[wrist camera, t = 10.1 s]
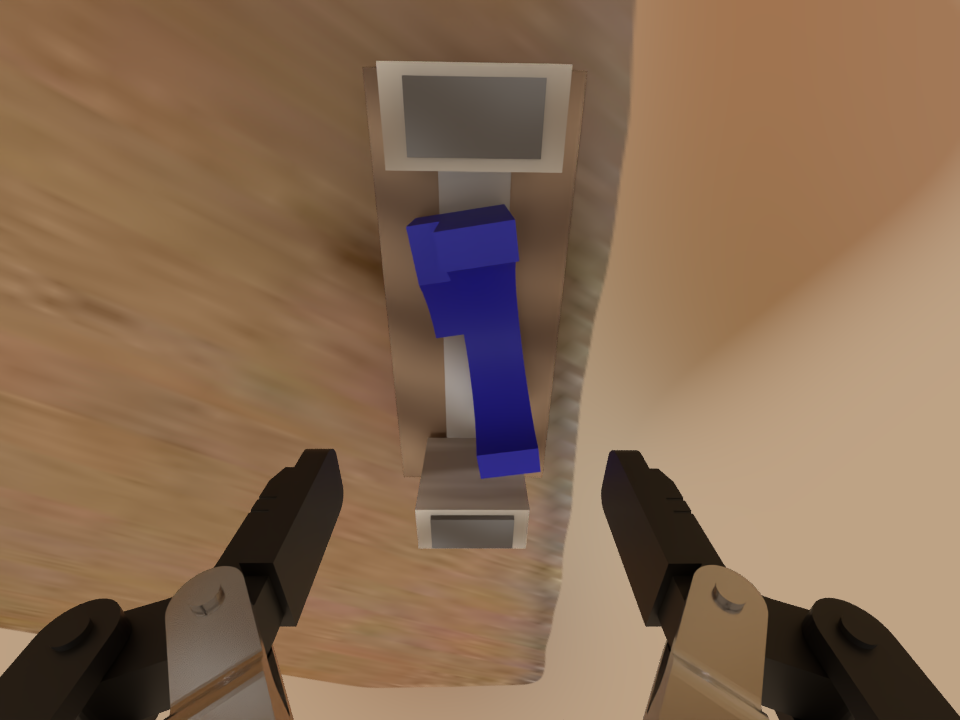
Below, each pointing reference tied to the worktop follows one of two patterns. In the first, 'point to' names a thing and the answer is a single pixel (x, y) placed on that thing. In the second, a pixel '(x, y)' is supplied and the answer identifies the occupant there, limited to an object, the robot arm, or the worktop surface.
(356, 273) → the worktop surface
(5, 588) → the worktop surface
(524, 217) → the rail board
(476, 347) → the blue curved piece
